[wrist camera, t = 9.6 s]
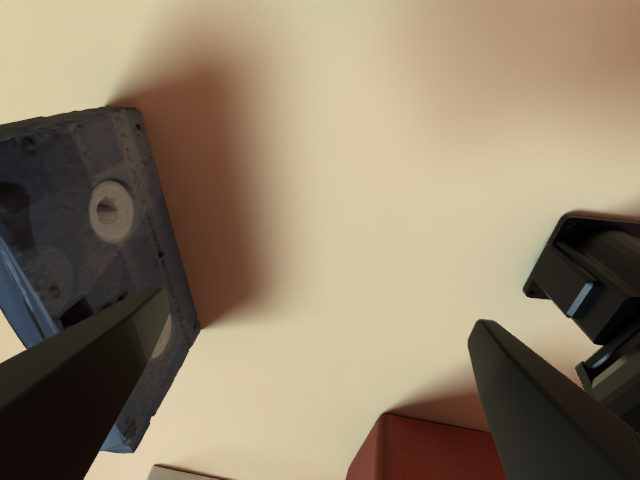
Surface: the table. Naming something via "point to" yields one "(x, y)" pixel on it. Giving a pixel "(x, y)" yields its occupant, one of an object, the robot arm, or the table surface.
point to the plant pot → (425, 453)
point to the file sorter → (173, 475)
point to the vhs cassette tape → (90, 241)
